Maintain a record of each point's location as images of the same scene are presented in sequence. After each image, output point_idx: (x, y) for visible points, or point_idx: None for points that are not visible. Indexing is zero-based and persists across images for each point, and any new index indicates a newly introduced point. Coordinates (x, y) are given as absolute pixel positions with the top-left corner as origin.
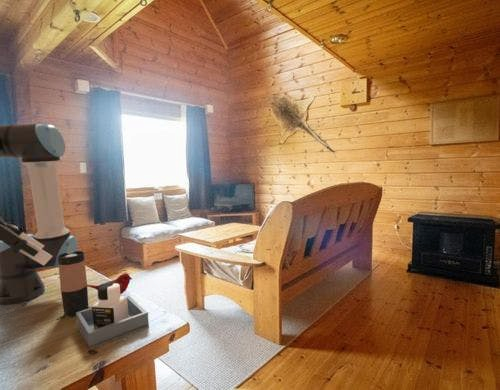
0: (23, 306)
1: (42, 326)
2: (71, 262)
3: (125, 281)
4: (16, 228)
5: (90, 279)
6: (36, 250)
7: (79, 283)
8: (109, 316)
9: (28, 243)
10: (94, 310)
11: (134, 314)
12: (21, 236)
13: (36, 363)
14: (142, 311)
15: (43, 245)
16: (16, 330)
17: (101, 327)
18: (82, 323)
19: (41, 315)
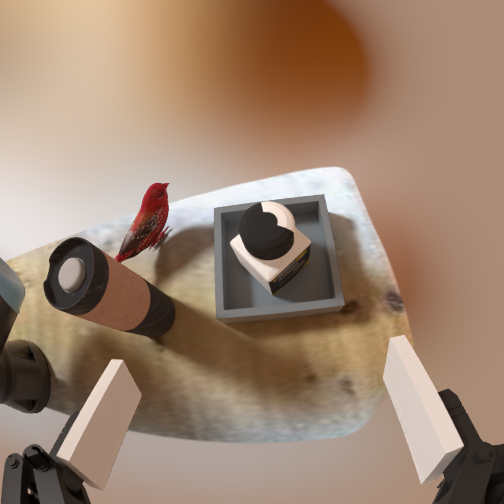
0: (67, 387)
1: (174, 379)
2: (104, 281)
3: (164, 198)
4: (21, 470)
5: (41, 265)
6: (451, 398)
7: (141, 287)
8: (303, 258)
9: (456, 443)
10: (275, 280)
11: None
12: (87, 465)
13: (323, 396)
14: (312, 200)
15: (120, 363)
16: (158, 418)
17: (334, 279)
18: (287, 312)
19: None
